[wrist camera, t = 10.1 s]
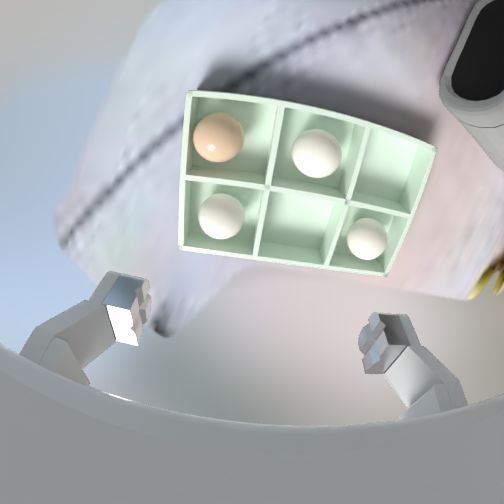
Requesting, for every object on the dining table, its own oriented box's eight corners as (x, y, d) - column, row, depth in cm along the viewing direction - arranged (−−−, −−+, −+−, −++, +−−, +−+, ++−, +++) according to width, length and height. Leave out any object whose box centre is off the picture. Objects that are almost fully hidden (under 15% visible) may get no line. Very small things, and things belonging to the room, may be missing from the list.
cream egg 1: (248, 189, 27) (246, 208, 23) (242, 228, 29) (240, 251, 26) (204, 184, 27) (195, 201, 23) (201, 222, 29) (193, 244, 26)
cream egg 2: (339, 131, 23) (353, 140, 20) (329, 173, 26) (340, 189, 22) (293, 121, 23) (300, 127, 19) (285, 165, 25) (289, 180, 22)
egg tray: (420, 139, 23) (437, 147, 20) (376, 259, 32) (386, 276, 29) (196, 89, 22) (186, 90, 19) (186, 232, 31) (178, 249, 28)
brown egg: (257, 116, 22) (227, 117, 18) (250, 163, 24) (221, 172, 21) (217, 109, 23) (184, 110, 20) (212, 152, 26) (180, 160, 22)
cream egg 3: (384, 214, 28) (400, 234, 24) (371, 247, 30) (383, 270, 27) (349, 206, 28) (362, 227, 24) (337, 242, 30) (347, 265, 26)
